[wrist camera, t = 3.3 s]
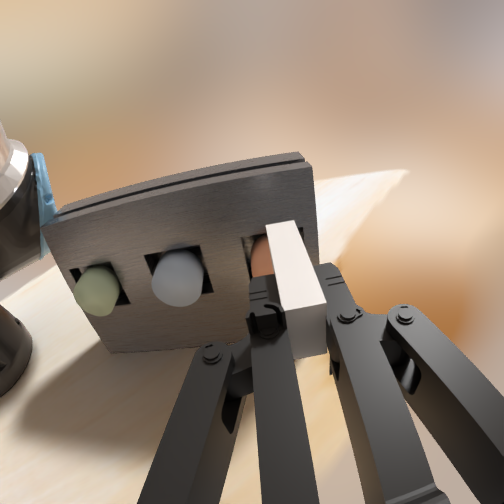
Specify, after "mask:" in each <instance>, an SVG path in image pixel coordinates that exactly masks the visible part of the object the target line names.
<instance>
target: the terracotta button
mask: <svg viewBox="0 0 504 504" xmlns="http://www.w3.org/2000/svg"><path fill="white" fill-rule="evenodd" d="M250 256H251V267H252V276H253V277H258V276H264V275H269V274H274V272H273V267H272V261H271V255H270V249H269V243H268V237H267V233H266V234H264V235H262V236H261V237H259V238H258V239H257V240H256V241H255V242H254V244H253V245H252V248H251V252H250Z"/></svg>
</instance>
